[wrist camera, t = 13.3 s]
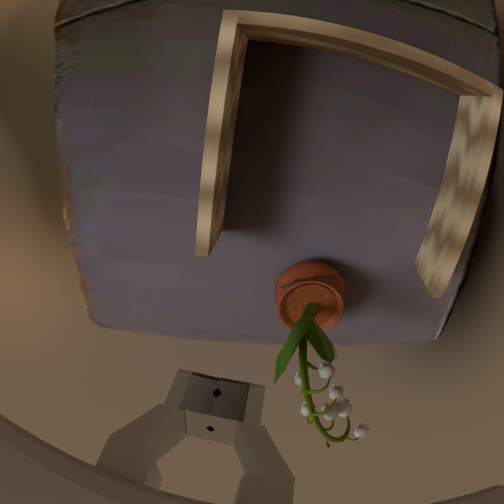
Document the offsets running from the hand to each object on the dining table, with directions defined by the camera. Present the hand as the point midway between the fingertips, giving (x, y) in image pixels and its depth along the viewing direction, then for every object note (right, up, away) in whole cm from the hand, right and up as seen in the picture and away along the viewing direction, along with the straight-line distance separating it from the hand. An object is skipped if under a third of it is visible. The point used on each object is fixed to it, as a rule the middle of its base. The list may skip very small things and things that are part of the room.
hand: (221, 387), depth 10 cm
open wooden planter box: (+13, +17, +25) cm, 33 cm away
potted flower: (+10, -1, +35) cm, 36 cm away
